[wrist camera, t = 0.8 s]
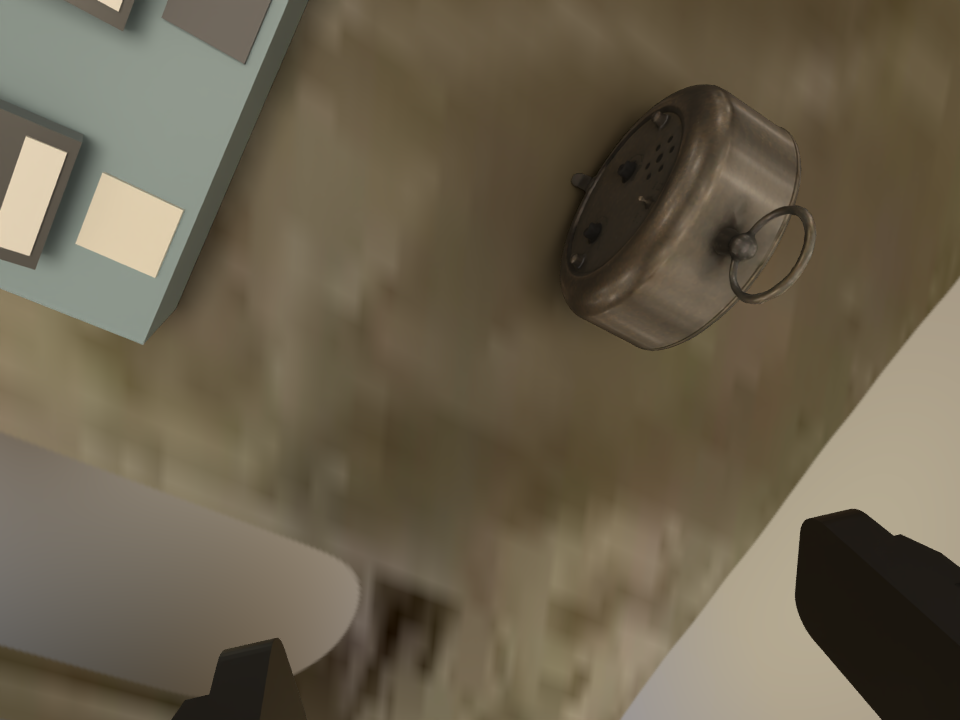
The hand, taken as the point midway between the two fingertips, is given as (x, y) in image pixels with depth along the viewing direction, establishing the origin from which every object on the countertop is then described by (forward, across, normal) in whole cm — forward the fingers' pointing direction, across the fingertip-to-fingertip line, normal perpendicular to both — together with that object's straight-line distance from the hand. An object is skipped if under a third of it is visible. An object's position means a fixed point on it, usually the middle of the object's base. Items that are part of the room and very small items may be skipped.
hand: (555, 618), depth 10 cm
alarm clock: (+26, -10, -1) cm, 28 cm away
